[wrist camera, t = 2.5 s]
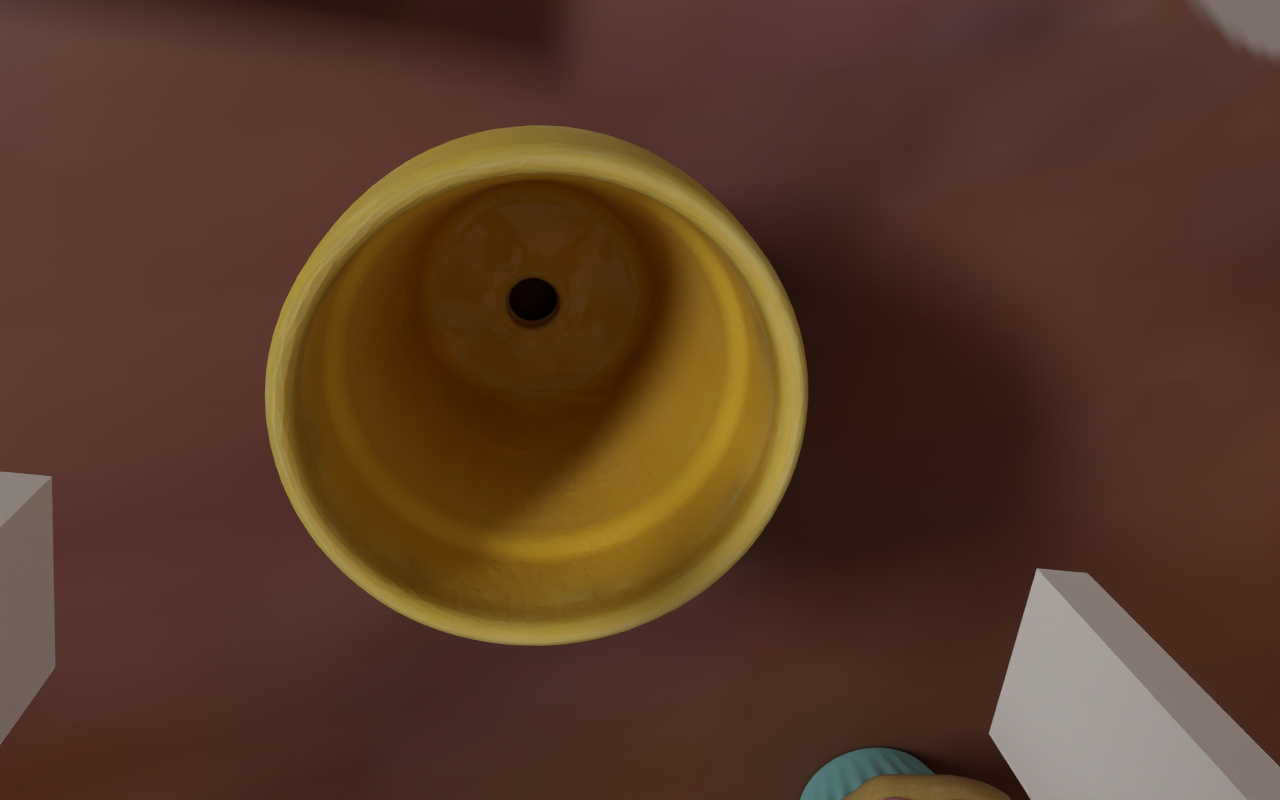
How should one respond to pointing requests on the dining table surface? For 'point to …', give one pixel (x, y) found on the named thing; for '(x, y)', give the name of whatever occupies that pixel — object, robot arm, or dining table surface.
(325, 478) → the plant pot
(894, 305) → the dining table surface
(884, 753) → the cupcake
